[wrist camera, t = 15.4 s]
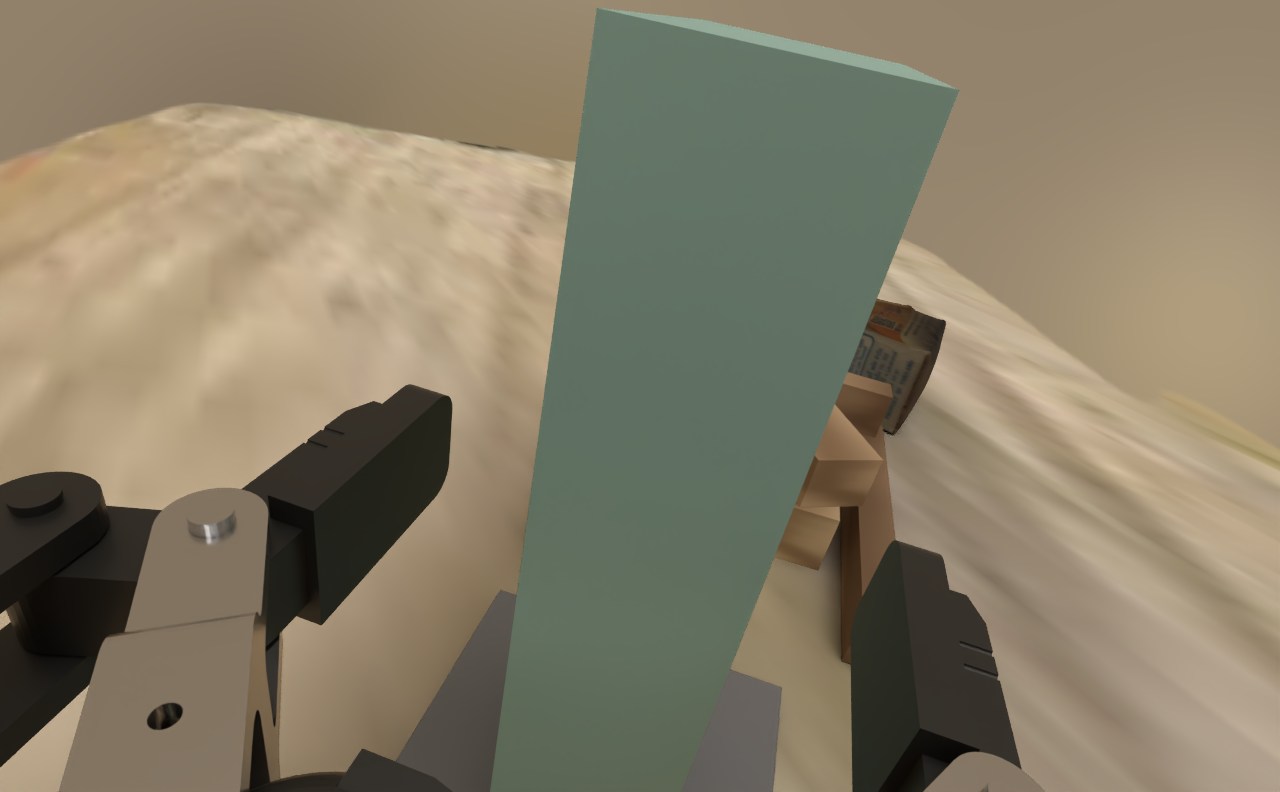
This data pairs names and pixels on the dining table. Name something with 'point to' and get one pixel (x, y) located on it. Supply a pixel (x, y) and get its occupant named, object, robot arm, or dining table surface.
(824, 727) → the dining table surface
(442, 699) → the pad
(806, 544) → the offcut low
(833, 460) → the offcut top
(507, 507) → the dining table surface
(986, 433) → the dining table surface
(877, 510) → the frame
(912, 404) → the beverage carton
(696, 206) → the tall teal pillar
